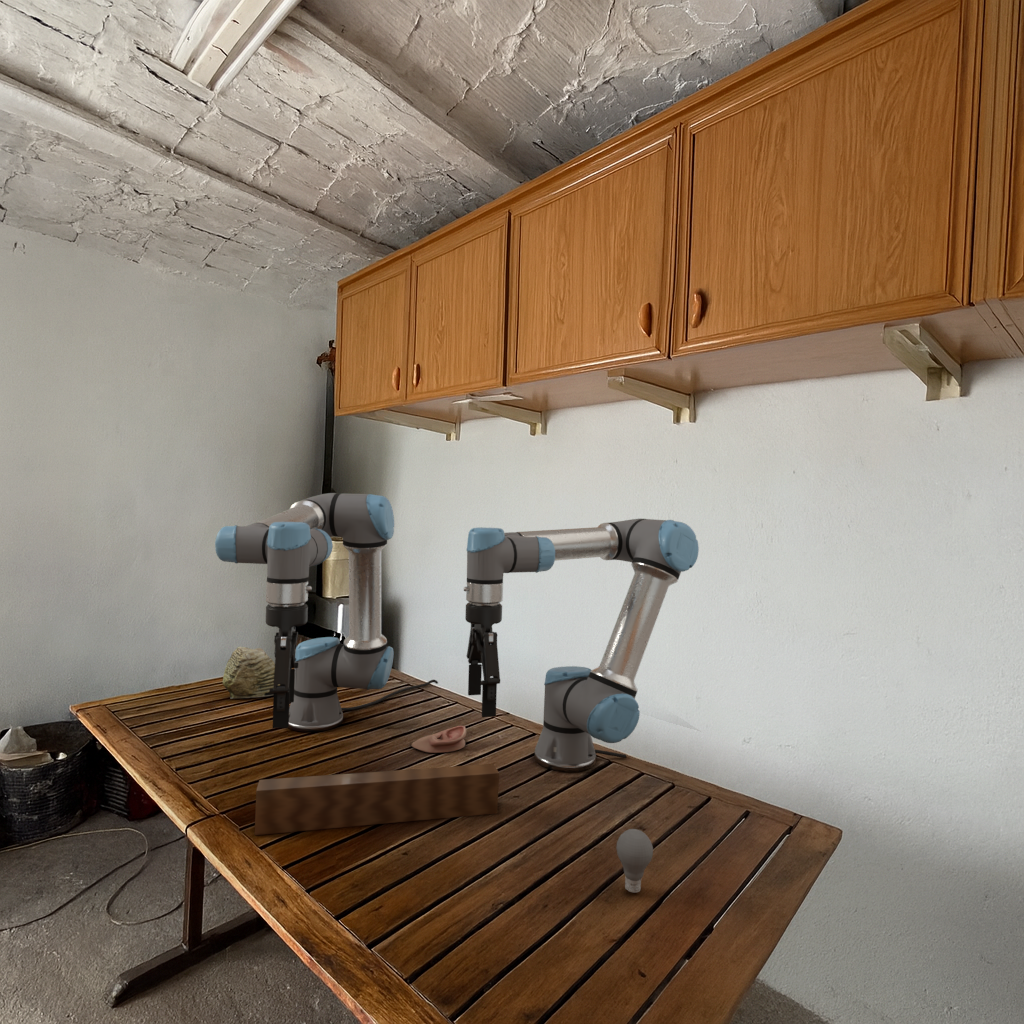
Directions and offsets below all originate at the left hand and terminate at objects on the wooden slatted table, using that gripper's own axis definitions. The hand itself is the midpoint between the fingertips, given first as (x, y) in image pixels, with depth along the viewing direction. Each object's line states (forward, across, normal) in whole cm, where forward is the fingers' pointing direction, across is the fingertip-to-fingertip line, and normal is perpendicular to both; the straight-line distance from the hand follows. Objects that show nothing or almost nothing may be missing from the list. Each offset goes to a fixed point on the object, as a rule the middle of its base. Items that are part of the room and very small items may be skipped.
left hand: (283, 714), depth 121 cm
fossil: (+23, +83, +15) cm, 88 cm away
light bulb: (+22, -33, -58) cm, 70 cm away
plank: (+22, -1, -19) cm, 29 cm away
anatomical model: (+22, +34, -36) cm, 54 cm away
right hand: (0, 0, -39) cm, 39 cm away
